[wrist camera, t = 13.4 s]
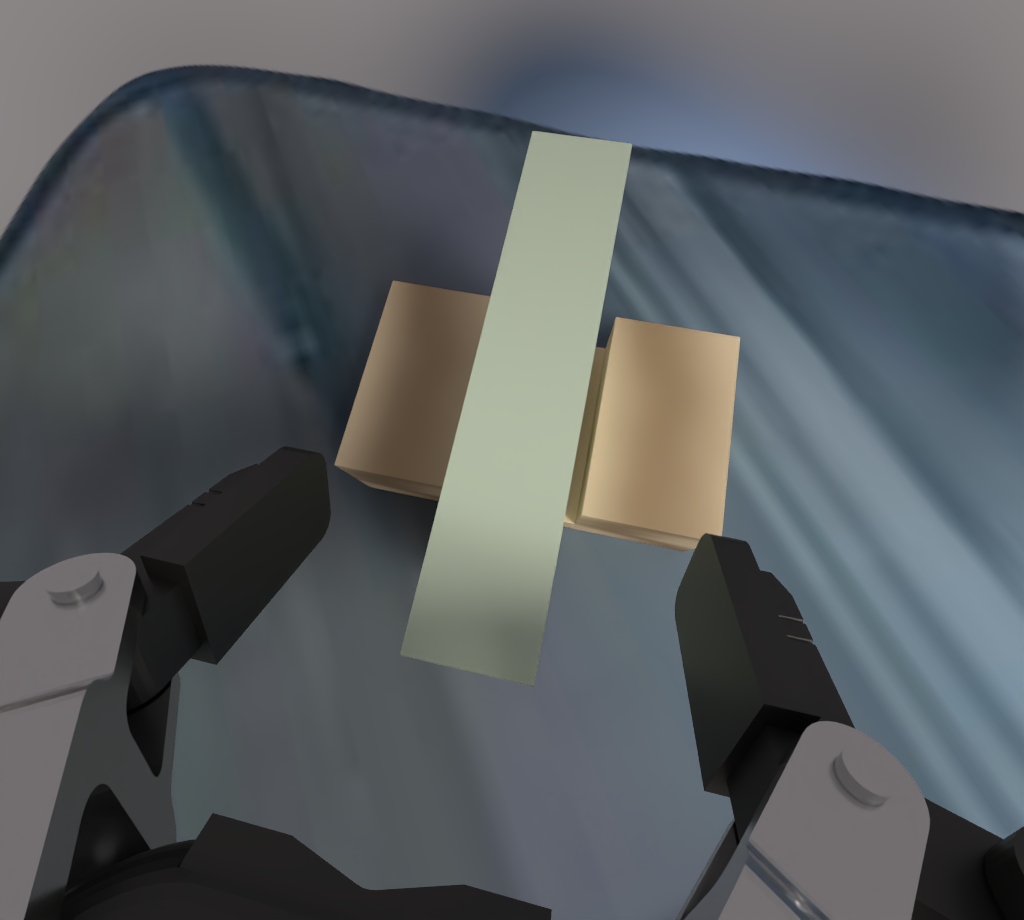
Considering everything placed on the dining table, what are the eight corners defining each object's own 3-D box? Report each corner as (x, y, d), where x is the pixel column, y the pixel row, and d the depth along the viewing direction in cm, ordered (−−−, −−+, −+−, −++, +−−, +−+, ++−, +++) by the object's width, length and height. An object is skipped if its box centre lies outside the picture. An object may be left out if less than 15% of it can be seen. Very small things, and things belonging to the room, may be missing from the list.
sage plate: (583, 351, 20) (632, 144, 11) (530, 629, 17) (534, 687, 8) (530, 342, 21) (532, 130, 11) (469, 616, 18) (400, 654, 8)
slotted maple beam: (702, 381, 22) (740, 337, 18) (683, 551, 20) (721, 543, 16) (416, 332, 23) (393, 280, 19) (370, 487, 21) (334, 465, 17)
